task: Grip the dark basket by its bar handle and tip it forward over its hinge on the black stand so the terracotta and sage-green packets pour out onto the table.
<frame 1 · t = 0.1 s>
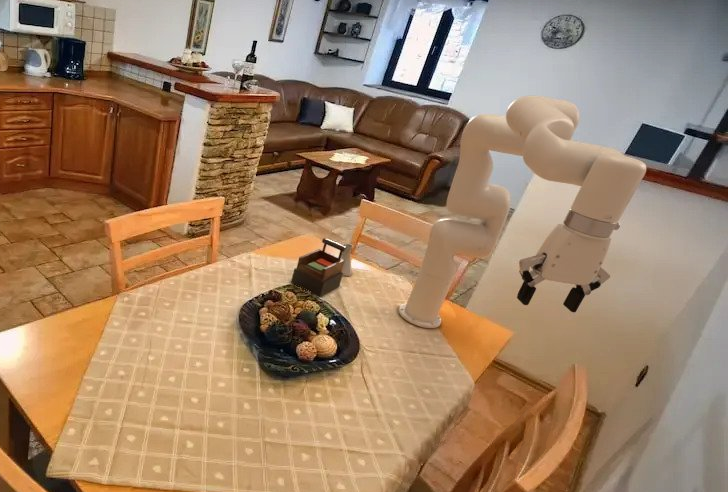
hand: (545, 305, 98), 31 cm above the table, tool pointing down, fingers open, 9 cm apart
stand: (315, 284, 161), on the table
flask: (340, 271, 173), on the table
basket: (322, 258, 157), point 9 cm above the table, hinge at -0.1°, touching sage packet, terracotta packet
terracotta packet: (323, 266, 160), point 6 cm above the table, touching basket
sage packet: (315, 270, 157), point 6 cm above the table, touching basket
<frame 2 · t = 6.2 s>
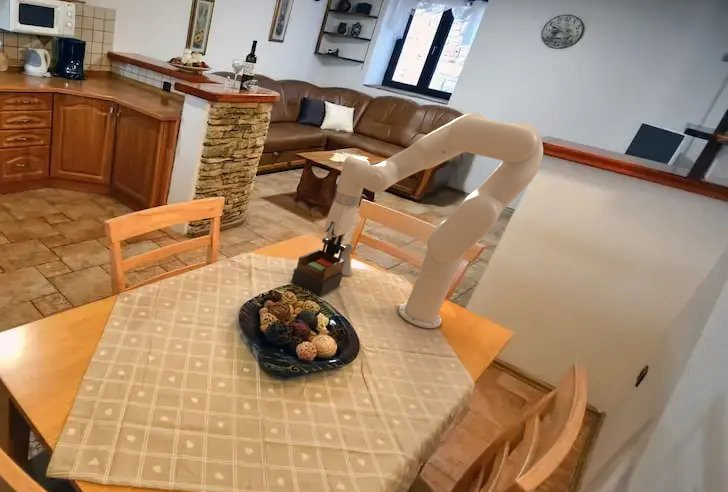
hand: (331, 252, 160), 10 cm above the table, tool pointing down, fingers closed on basket
basket: (322, 258, 157), point 9 cm above the table, hinge at -0.1°, touching gripper, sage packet, terracotta packet
everything else where it was.
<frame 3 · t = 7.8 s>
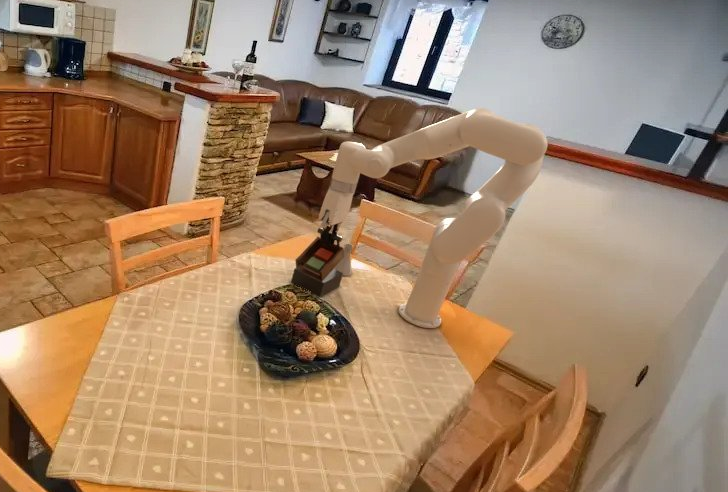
hand: (327, 242, 155), 15 cm above the table, tool pointing down, fingers closed on basket
basket: (320, 253, 154), point 12 cm above the table, hinge at 27.7°, touching gripper, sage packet, terracotta packet
terracotta packet: (324, 256, 157), point 10 cm above the table, tilted 28°, touching basket
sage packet: (315, 266, 155), point 7 cm above the table, tilted 28°, touching basket
everything else where it was.
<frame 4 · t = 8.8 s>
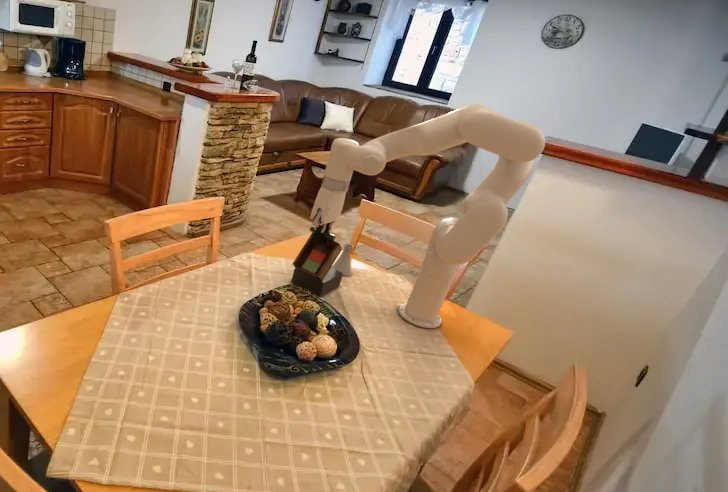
hand: (319, 242, 150), 16 cm above the table, tool pointing down, fingers closed on basket
basket: (315, 253, 151), point 13 cm above the table, hinge at 49.7°, touching gripper, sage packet, terracotta packet
terracotta packet: (318, 258, 154), point 10 cm above the table, tilted 48°, touching basket, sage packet
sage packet: (312, 267, 154), point 7 cm above the table, tilted 49°, touching basket, terracotta packet
everything else where it was.
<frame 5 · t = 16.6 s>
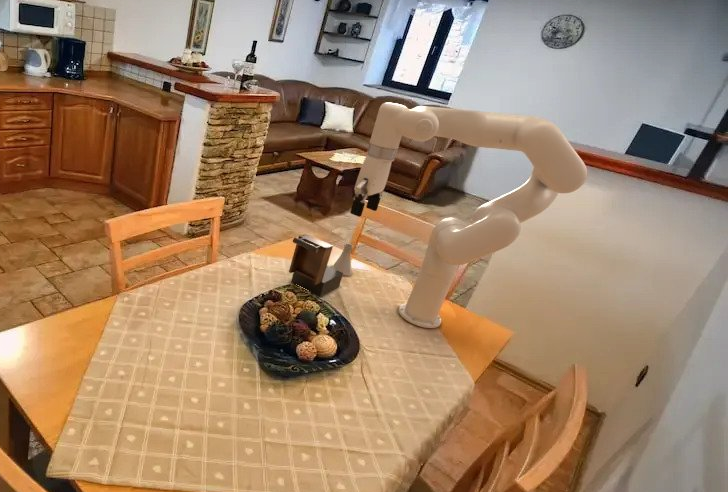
hand: (363, 212, 142), 28 cm above the table, tool pointing down, fingers open, 9 cm apart
basket: (306, 259, 149), point 11 cm above the table, hinge at 86.2°
terracotta packet: (289, 293, 149), point 2 cm above the table, tilted 180°
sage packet: (298, 289, 153), point 2 cm above the table, tilted 180°
everything else where it was.
at the end: basket at +86° (first picture: +0°); terracotta packet inside the target area (3.2 cm from its centre), point 1.6 cm above the table; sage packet inside the target area (8.3 cm from its centre), point 1.6 cm above the table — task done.
